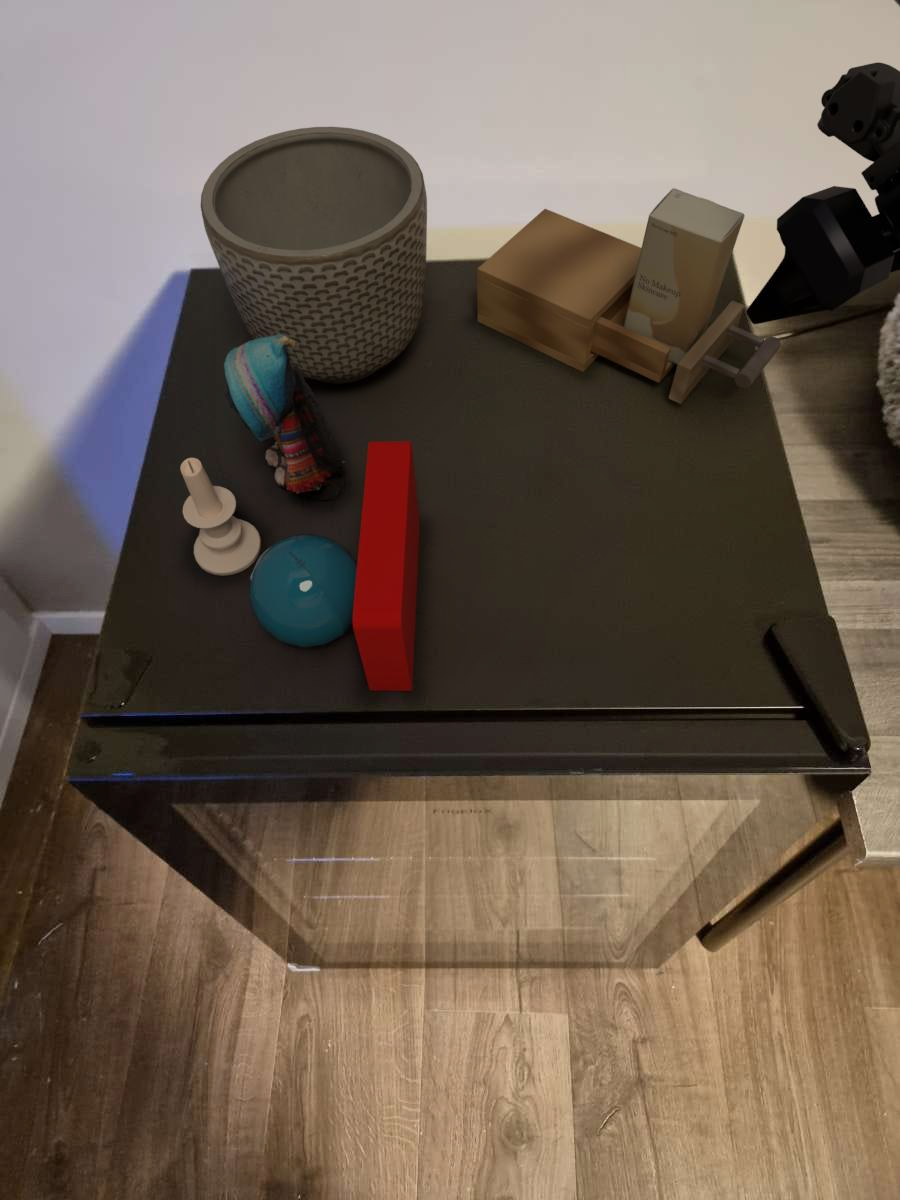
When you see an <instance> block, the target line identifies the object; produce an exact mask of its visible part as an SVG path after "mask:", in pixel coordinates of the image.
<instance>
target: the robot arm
mask: <svg viewBox="0 0 900 1200" xmlns="http://www.w3.org/2000/svg"><path fill="white" fill-rule="evenodd" d="M893 1H894V2H895V3H896V4H897V6H898V7H900V0H893ZM820 99H821V101H820V102H821V105H822V107H823V110H822V111H821V113H820V118H819V120H818V122H817V128H818V130H819V131H820V132H821V133H822V134H824V135H825V136H826V137H828V138H831V137H835V138H836V139H837V140H838V141H840V142H842V143H843V144H844V145H846V146H847V147H848V148H850V149H851V150H853V152H855V153H857V155H859V156H861V157H862V158H864V159H866V160H867V161H869V162H872V163H871V164H870V165H869V166H868V167H866V168H865V169H863V170H862V171H861V176H862V177H863V179H864V181H865V182H866V184H867V186H868V188H869V189H870V190H871V191H875V192H876V193H877V195H876V196H875V197H874V203H875V206H876V209H877V212H878V214H875V215H872V214H871V212H870V211H869V208H868V207H867V206H866V204H865V202H864V200H863V198H862V197H861V196H860V194H859V192H858V190H857V189H856V188H855V187H846V186H837V185H833V186H830V187H827V188H825V189H822V190H819V191H815V192H813V193H811V194H807V195H805V196H802V197H800V198H799V200H798V201H796V202H795V203H793V205H791V206H790V207H789V208H787V210H785V211H784V212H783V213H782V214H781V215H779V217H778V218H777V219H776V231H777V233H778V234H779V238H780V241H781V243H782V245H783V246H784V256H783V258H782V259H781V262H780V263H779V264H778V266H777V268H776V269H775V271H774V272H773V273H772V274H771V276H770V277H769V279H768V281H767V282H766V283H765V285H764V286H763V287H762V288H761V289H760V291H759V293H758V294H757V295H756V296H755V298H754V299H753V301H752V302H751V303H750V305H749V306H748V308H747V309H746V315H747V317H748V319H749V320H750V322H751V323H752V324H753V325H760V324H764V323H769V322H773V321H779V320H783V319H784V320H785V319H787V318H792V317H797V316H798V317H799V316H803V315H808V314H815V313H820V312H834V311H835V310H838V309H840V308H841V307H844V306H845V305H847V304H849V303H853V302H854V301H856V300H857V299H859V298H860V297H863V296H864V295H865V294H867V293H869V292H870V291H872V290H873V289H875V288H877V287H878V286H879V285H882V283H884V282H886V281H887V280H889V278H890V274H891V273H894V272H897V271H900V70H898V69H897V68H895V67H894V66H892V65H890V64H888V63H884V62H877V61H876V62H872V63H867V64H863V65H859V66H855V67H854V66H853V67H850V68H848V71H847V72H846V73H844V74H841V76H840V78H839V80H838V81H837V83H836V84H835V85H834V86H833V87H832V88H829V89H827V90H826V91H824V92H823V94H822V96H821V98H820Z"/></svg>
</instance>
